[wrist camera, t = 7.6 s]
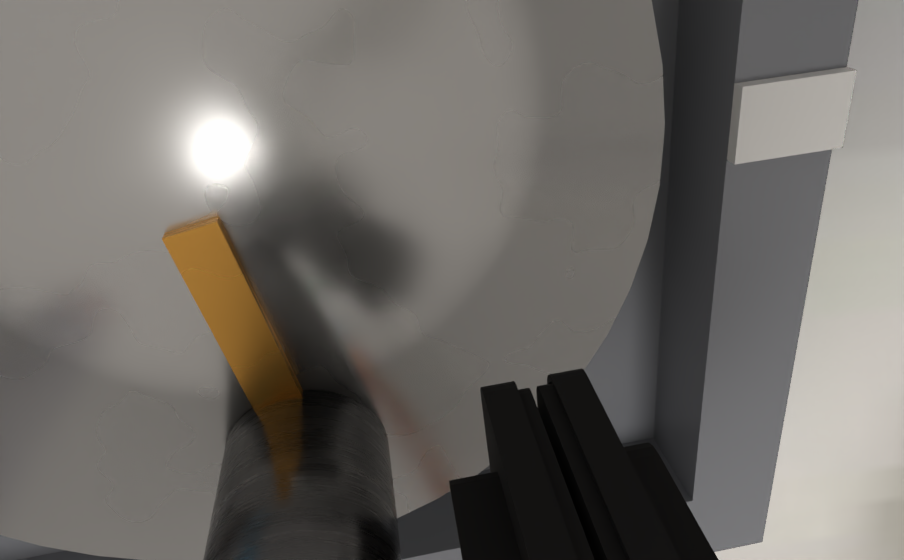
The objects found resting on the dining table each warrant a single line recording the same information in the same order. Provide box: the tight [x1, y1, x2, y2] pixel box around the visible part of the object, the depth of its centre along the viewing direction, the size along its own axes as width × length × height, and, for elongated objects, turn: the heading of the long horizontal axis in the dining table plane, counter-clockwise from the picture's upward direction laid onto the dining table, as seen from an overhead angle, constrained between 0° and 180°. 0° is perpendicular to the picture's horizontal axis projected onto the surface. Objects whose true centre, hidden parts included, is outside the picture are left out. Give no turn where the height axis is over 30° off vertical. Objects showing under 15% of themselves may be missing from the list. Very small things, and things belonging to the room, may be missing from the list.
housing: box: [0, 0, 858, 560], centre depth 11 cm, size 20×20×3 cm
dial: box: [0, 0, 665, 560], centre depth 8 cm, size 14×14×6 cm
